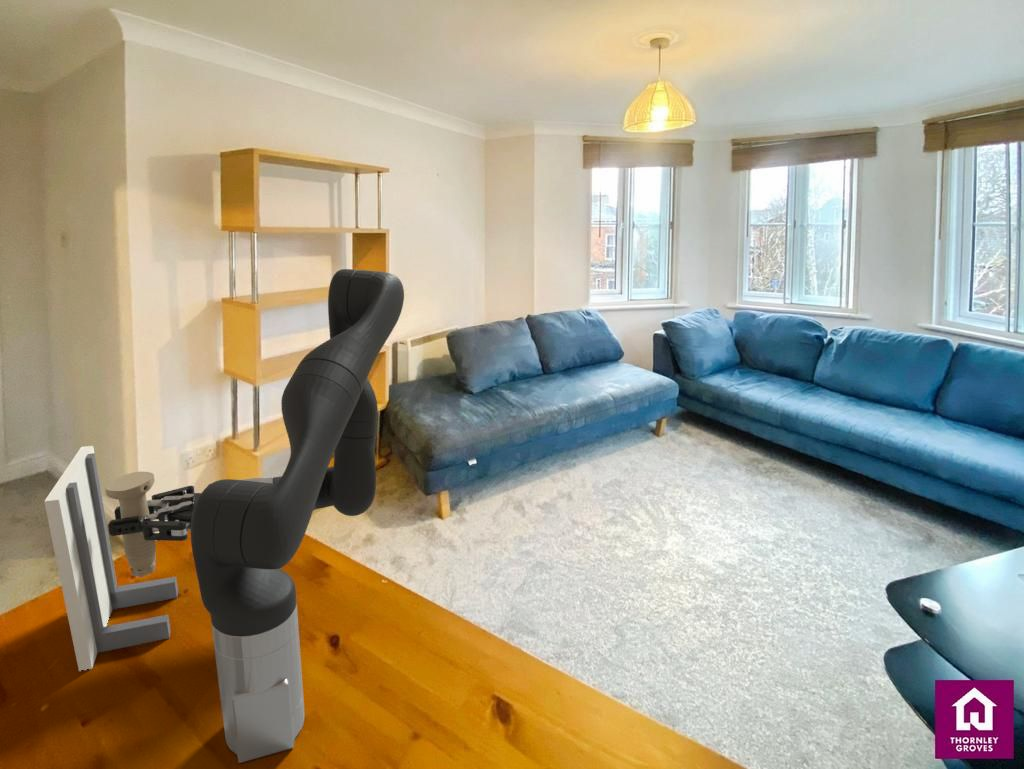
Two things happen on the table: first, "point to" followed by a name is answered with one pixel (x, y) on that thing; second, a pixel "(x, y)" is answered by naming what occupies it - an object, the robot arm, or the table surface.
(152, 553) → the handle
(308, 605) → the table surface
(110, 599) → the rack
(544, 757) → the table surface
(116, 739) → the table surface
